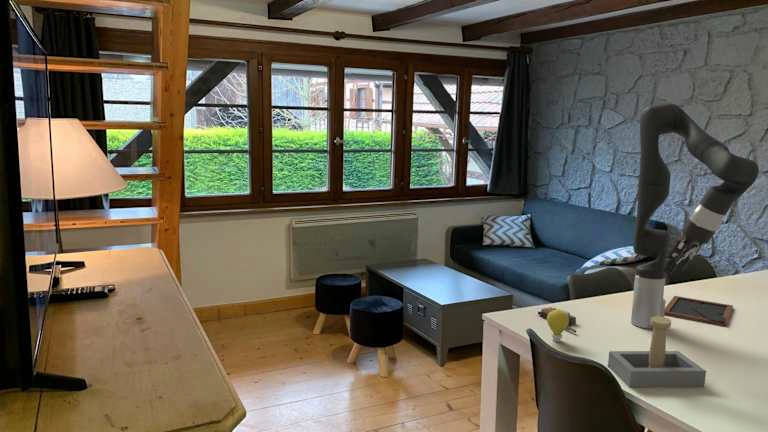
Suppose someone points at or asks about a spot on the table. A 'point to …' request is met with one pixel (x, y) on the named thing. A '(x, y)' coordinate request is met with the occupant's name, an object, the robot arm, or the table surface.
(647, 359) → the gray rectangular tray
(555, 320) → the light bulb
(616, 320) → the table surface
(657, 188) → the robot arm
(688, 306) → the picture frame
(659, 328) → the handle
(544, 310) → the walkie-talkie
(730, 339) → the table surface
